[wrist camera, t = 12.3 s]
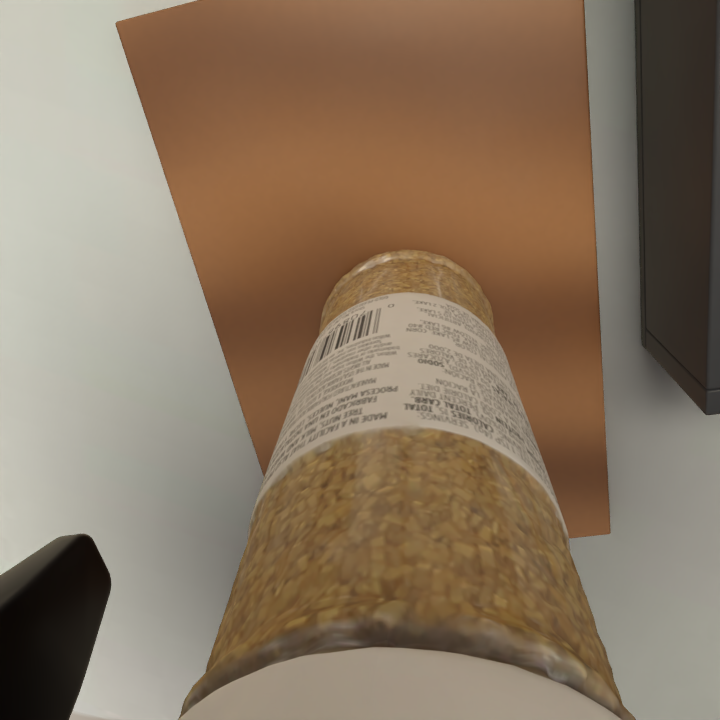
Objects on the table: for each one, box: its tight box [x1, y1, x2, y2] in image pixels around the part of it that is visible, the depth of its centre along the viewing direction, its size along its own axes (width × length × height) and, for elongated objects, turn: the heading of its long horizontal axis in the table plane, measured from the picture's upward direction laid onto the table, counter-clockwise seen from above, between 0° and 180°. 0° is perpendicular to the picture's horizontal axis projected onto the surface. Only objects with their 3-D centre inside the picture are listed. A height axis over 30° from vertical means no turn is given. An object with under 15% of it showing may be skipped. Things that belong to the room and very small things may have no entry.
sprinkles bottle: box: [178, 250, 636, 720], centre depth 10 cm, size 5×5×13 cm
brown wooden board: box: [116, 0, 610, 538], centre depth 16 cm, size 16×10×1 cm, turn 12°
